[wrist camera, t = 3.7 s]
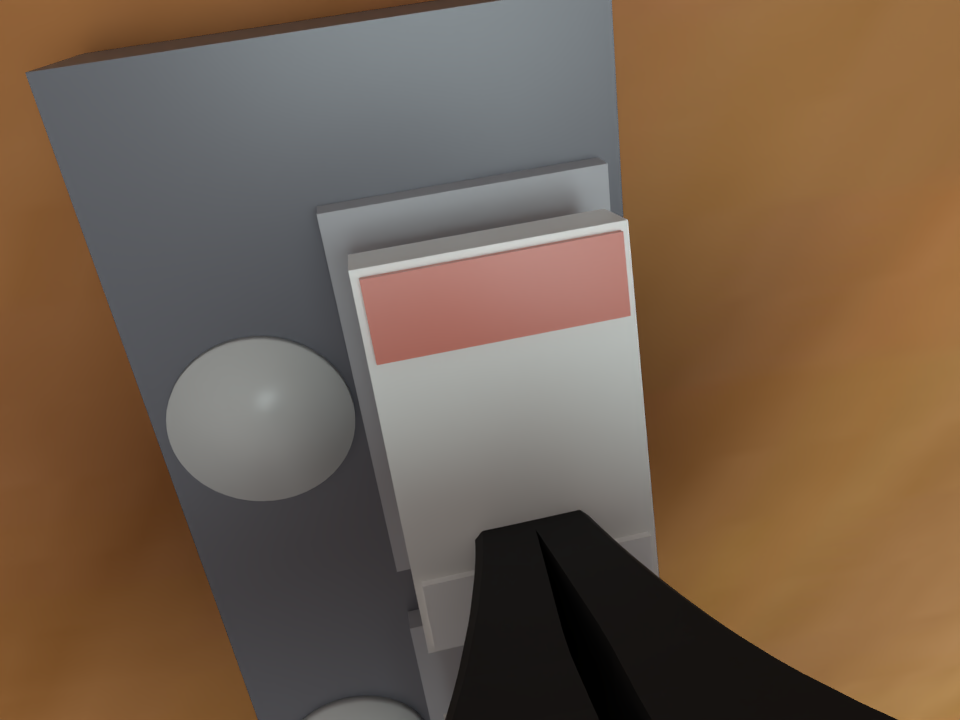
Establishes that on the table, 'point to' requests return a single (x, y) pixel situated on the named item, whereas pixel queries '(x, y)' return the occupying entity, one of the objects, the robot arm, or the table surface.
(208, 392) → the power strip
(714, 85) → the table surface
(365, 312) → the rocker outer
